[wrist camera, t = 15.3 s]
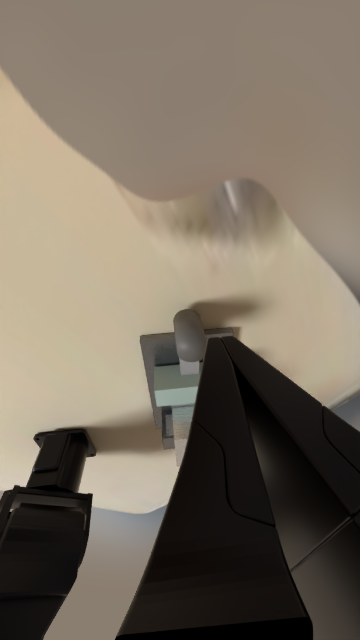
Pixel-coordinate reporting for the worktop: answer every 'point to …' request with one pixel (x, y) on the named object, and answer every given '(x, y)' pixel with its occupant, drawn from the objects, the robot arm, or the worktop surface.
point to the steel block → (181, 427)
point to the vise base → (164, 353)
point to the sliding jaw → (182, 362)
